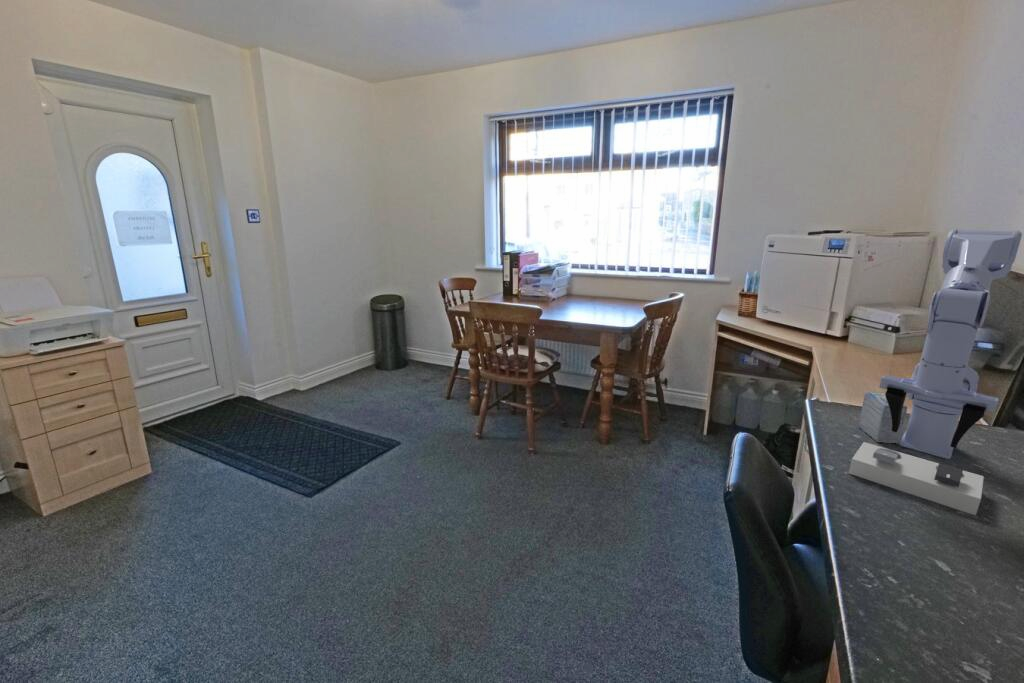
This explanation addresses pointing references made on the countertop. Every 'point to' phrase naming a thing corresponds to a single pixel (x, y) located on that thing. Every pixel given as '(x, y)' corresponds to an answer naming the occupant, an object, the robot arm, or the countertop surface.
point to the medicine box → (879, 419)
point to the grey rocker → (885, 456)
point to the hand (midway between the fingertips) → (923, 437)
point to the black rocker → (948, 475)
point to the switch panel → (917, 478)
